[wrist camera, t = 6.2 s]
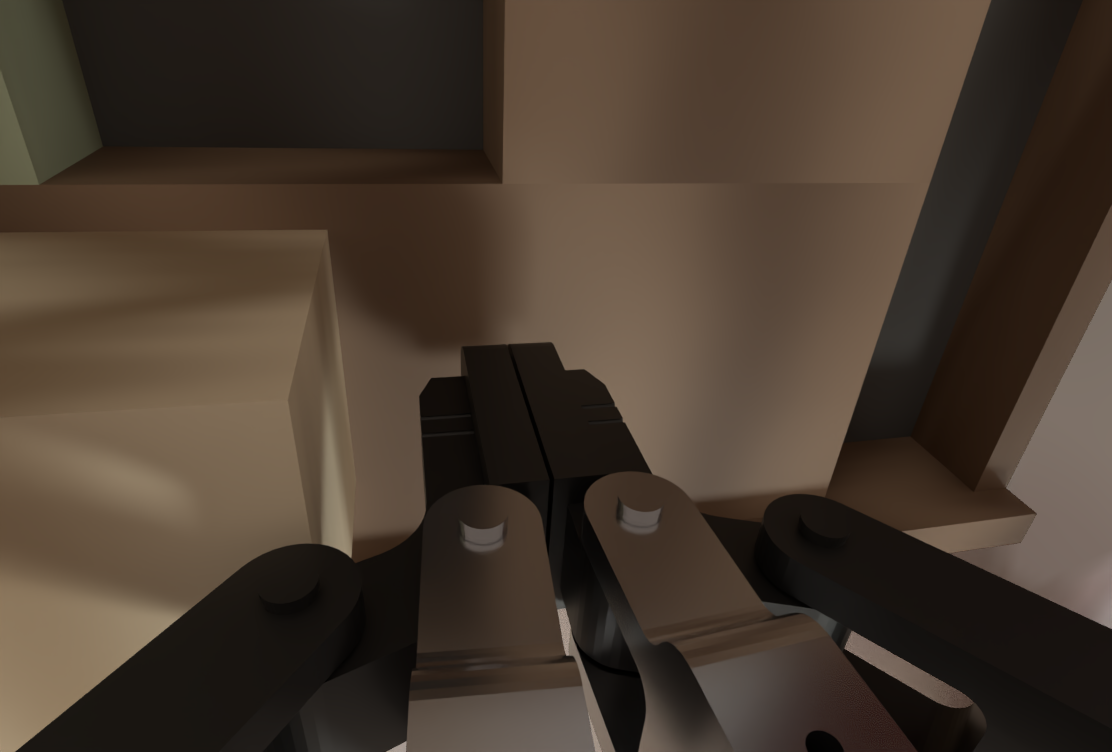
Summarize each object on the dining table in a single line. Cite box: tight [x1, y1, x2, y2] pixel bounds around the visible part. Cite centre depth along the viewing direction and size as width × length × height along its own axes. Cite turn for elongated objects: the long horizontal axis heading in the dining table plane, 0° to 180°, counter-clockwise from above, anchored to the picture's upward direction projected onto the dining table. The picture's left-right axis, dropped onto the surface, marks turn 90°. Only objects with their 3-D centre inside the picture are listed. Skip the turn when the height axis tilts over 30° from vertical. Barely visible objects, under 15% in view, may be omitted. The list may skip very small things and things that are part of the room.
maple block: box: [0, 230, 356, 752], centre depth 9 cm, size 5×5×5 cm
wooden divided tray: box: [0, 0, 1112, 563], centre depth 11 cm, size 25×18×6 cm
